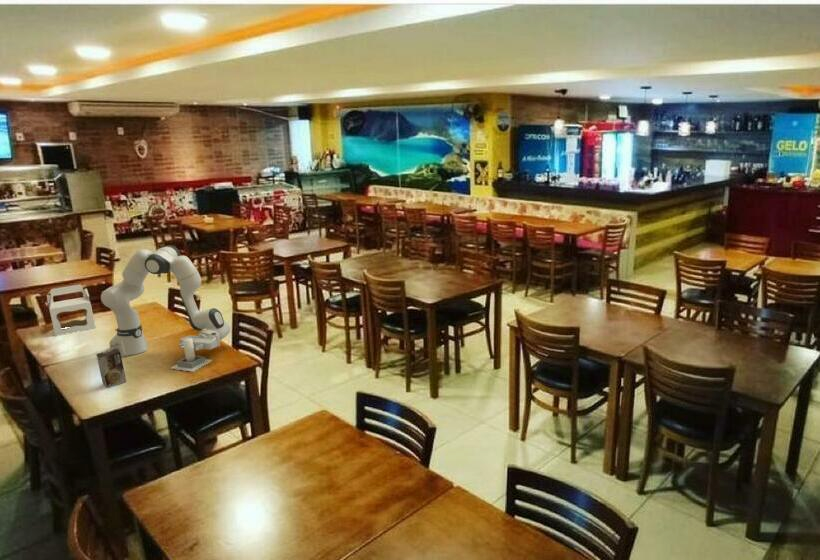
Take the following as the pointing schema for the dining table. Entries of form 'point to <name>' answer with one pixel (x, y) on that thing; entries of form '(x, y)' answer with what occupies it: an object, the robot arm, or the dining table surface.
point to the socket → (191, 364)
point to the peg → (189, 350)
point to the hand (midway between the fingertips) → (187, 348)
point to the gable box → (70, 306)
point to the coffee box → (111, 368)
